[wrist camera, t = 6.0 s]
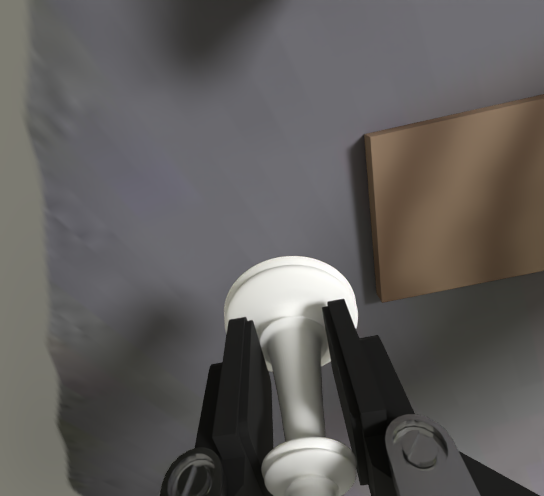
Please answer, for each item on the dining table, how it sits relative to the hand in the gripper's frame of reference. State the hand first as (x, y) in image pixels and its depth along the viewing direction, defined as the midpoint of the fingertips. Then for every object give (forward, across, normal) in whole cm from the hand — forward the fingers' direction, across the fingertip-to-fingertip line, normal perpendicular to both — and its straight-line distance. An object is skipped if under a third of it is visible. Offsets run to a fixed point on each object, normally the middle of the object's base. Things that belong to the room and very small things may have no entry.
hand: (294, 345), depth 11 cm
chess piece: (+2, 0, 0) cm, 2 cm away
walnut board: (+13, -15, +2) cm, 20 cm away
